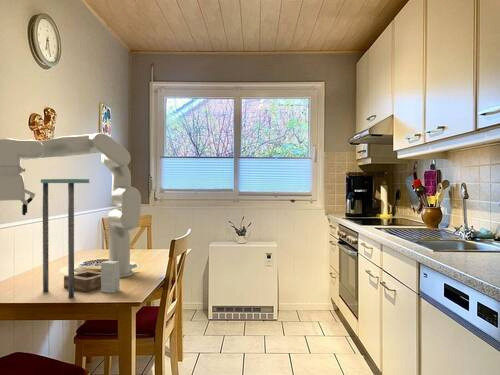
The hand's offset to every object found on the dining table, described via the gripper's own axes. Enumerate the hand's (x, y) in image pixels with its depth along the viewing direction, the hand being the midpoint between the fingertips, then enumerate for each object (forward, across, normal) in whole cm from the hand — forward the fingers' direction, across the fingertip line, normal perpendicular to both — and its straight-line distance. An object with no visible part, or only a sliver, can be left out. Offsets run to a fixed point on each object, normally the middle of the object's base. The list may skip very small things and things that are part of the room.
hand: (9, 215), depth 145 cm
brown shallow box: (+31, -28, +4) cm, 42 cm away
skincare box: (+32, -33, +17) cm, 49 cm away
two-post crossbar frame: (+31, -18, +7) cm, 37 cm away
